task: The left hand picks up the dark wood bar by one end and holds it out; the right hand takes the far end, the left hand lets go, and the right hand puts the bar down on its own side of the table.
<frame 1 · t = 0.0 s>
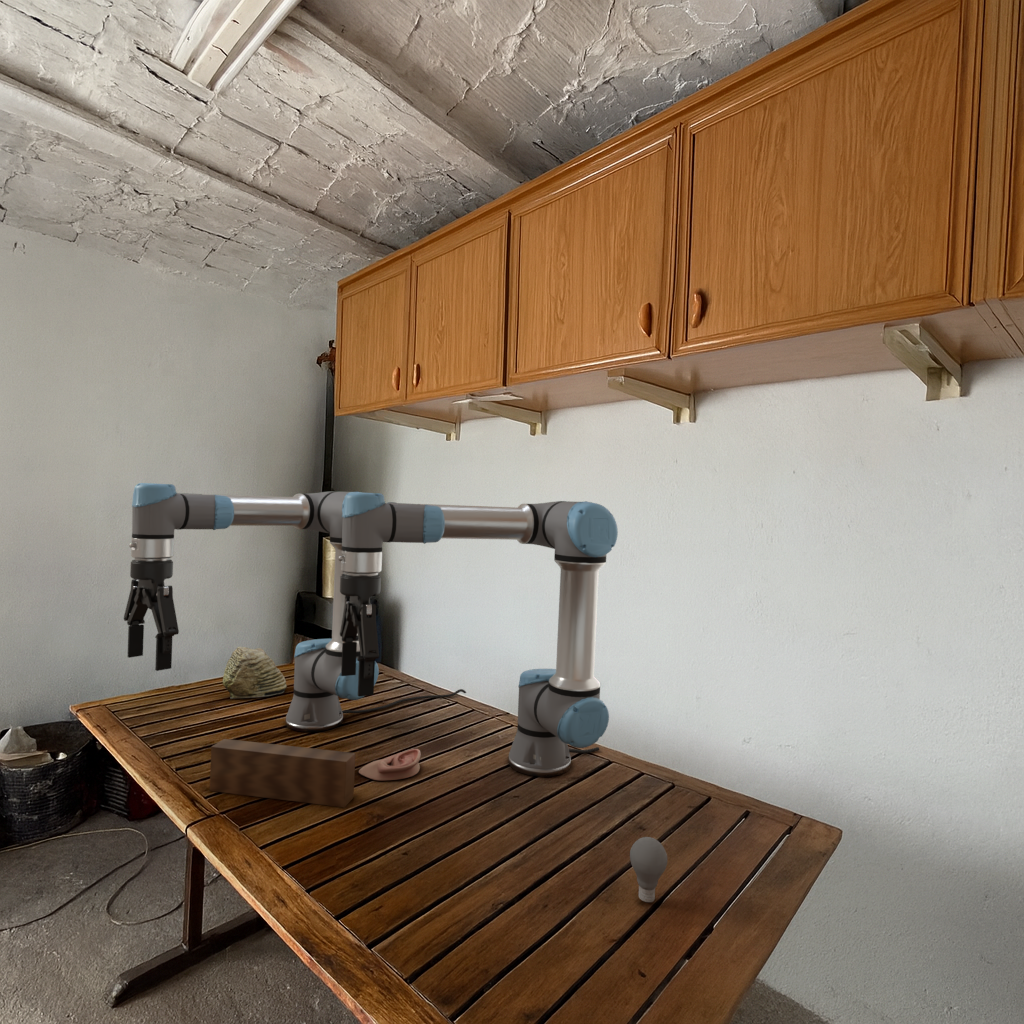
left hand: (148, 662, 129), 28 cm above the table, tool pointing down, fingers open, 13 cm apart
right hand: (356, 684, 120), 28 cm above the table, tool pointing down, fingers open, 13 cm apart
anatomical model: (390, 771, 147), on the table
light bulb: (646, 901, 103), on the table
bar: (281, 794, 134), on the table
fossil: (254, 694, 198), on the table
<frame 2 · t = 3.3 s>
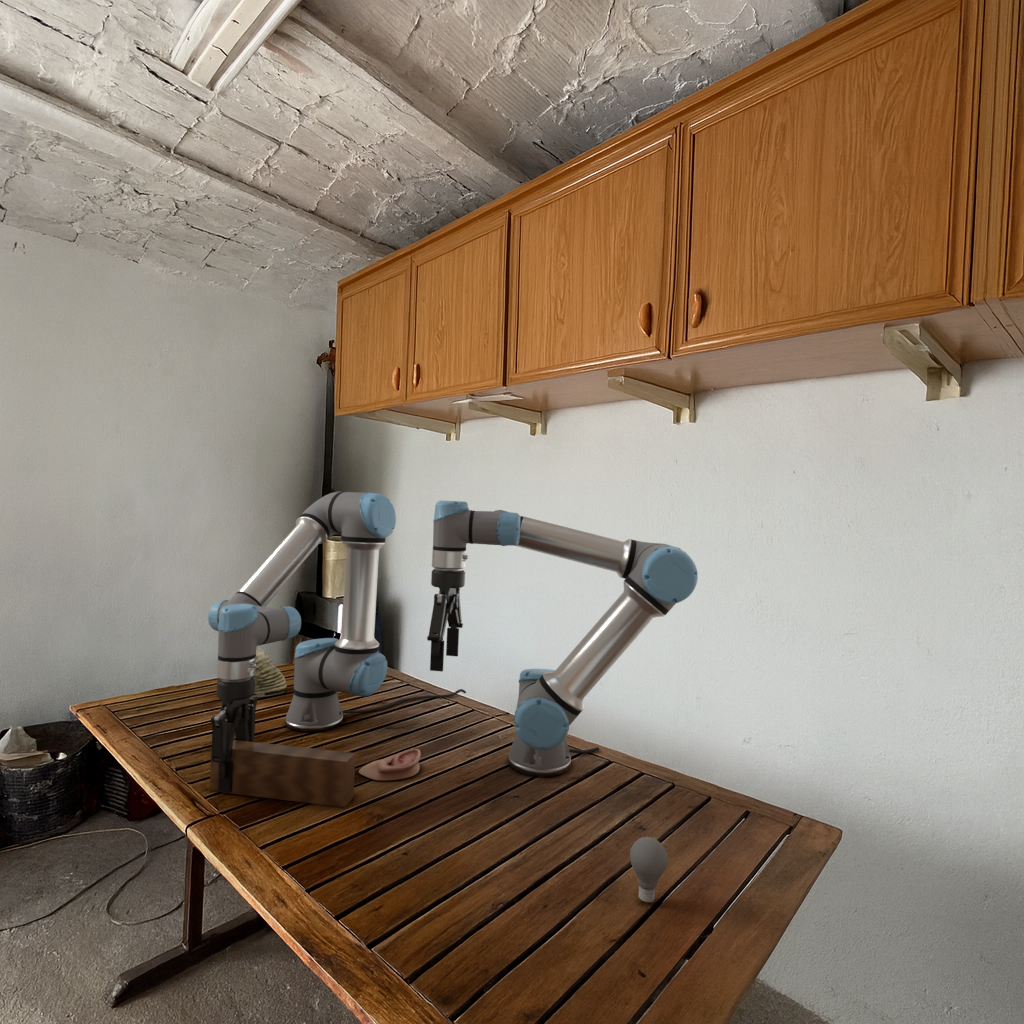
left hand: (232, 785, 136), 1 cm above the table, tool pointing down, fingers closed on bar, 5 cm apart
right hand: (444, 663, 143), 27 cm above the table, tool pointing down, fingers open, 13 cm apart
bar: (281, 794, 134), on the table, touching left hand
everything else where it was.
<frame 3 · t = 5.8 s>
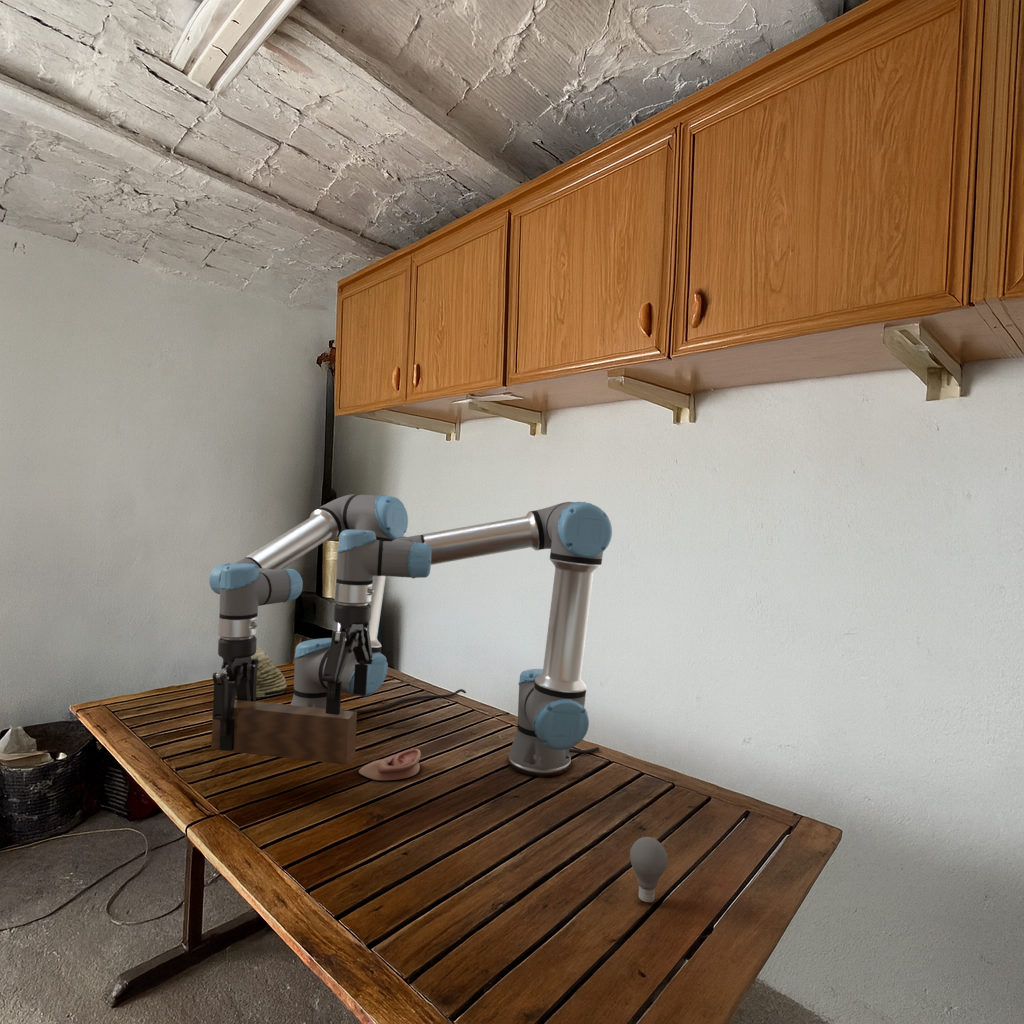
left hand: (234, 744, 136), 9 cm above the table, tool pointing down, fingers closed on bar, 5 cm apart
right hand: (346, 703, 133), 20 cm above the table, tool pointing down, fingers open, 13 cm apart
bar: (283, 752, 134), point 9 cm above the table, touching left hand
everything else where it was.
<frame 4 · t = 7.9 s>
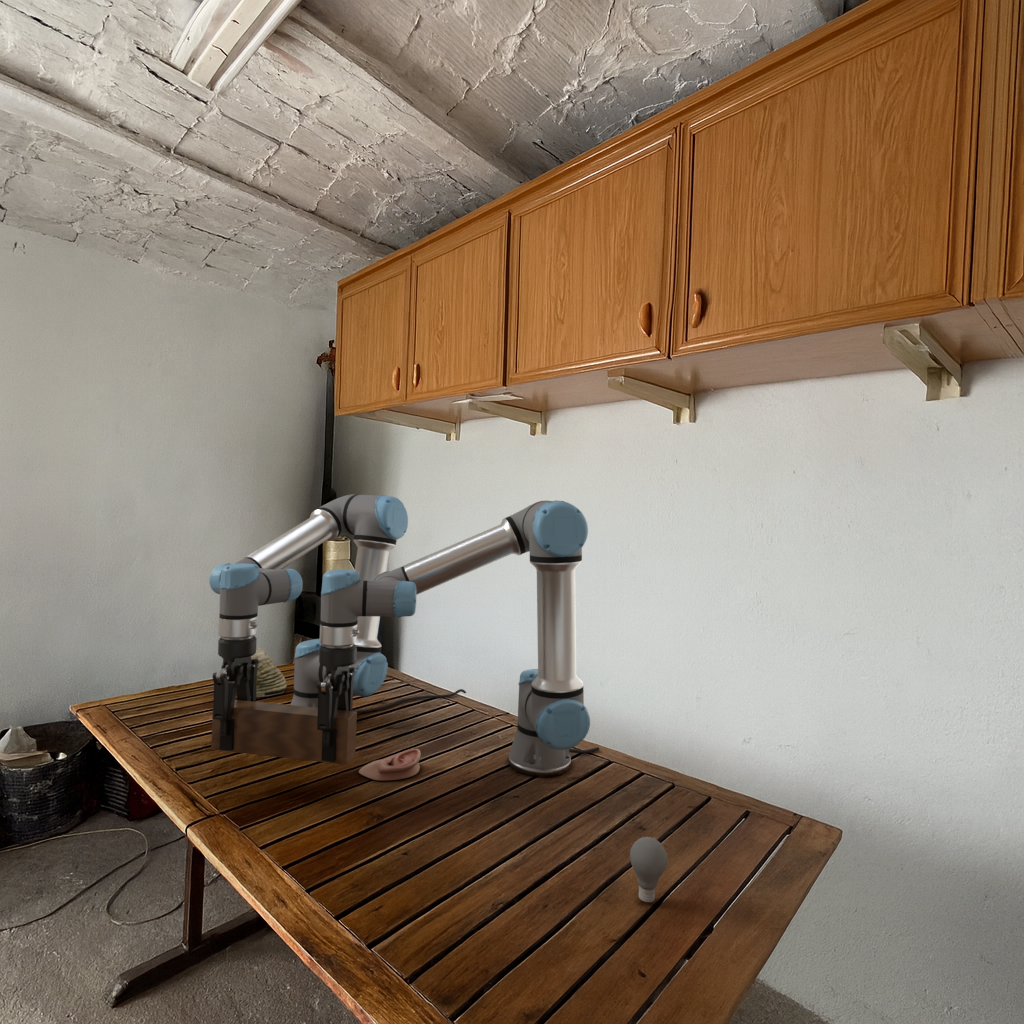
left hand: (234, 744, 136), 9 cm above the table, tool pointing down, fingers closed on bar, 5 cm apart
right hand: (334, 755, 132), 10 cm above the table, tool pointing down, fingers closed on bar, 5 cm apart
bar: (283, 752, 134), point 9 cm above the table, touching left hand, right hand
everything else where it was.
when the left hand's fingers open (9 cm above the table, at t = 8.4 s): bar stays where it is, held by the right hand.
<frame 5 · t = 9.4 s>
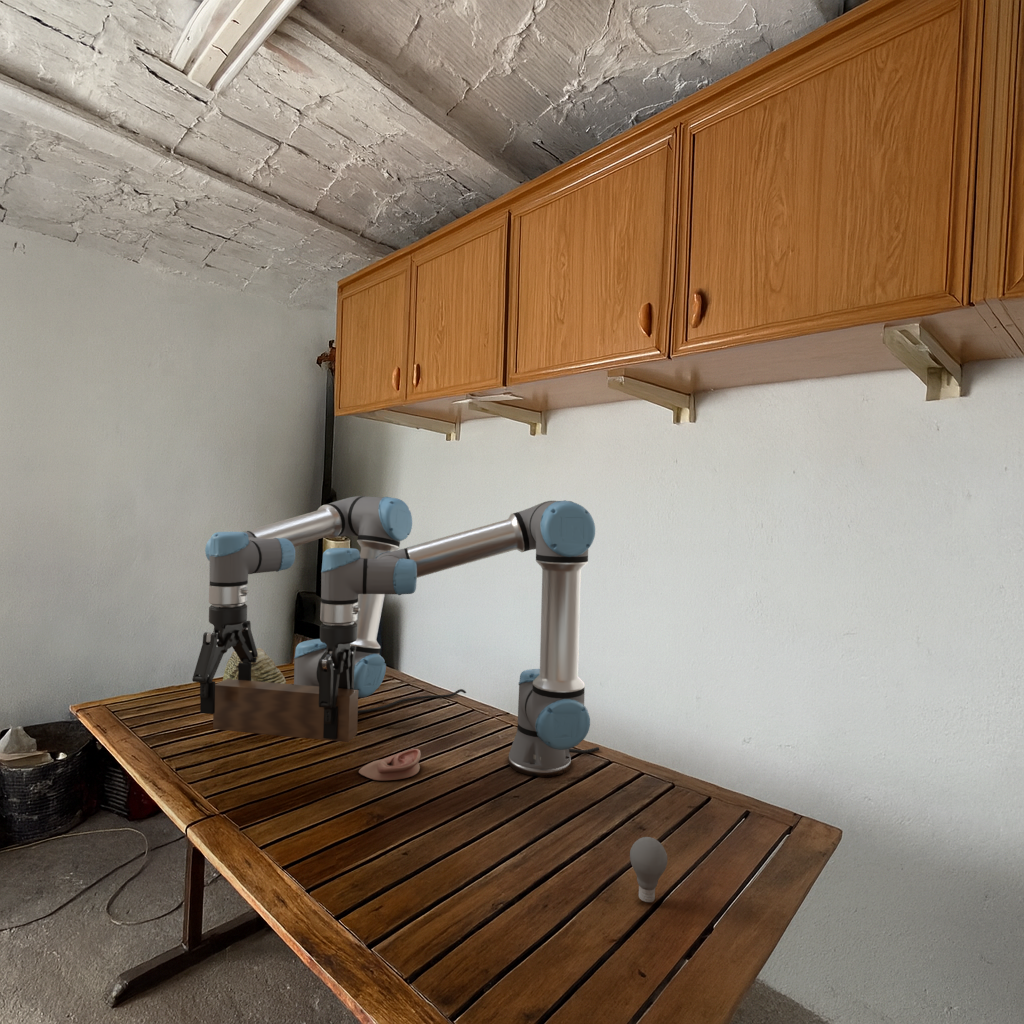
left hand: (226, 702, 136), 18 cm above the table, tool pointing down, fingers open, 13 cm apart
right hand: (335, 733, 132), 14 cm above the table, tool pointing down, fingers closed on bar, 5 cm apart
bar: (285, 731, 134), point 13 cm above the table, touching right hand
everything else where it was.
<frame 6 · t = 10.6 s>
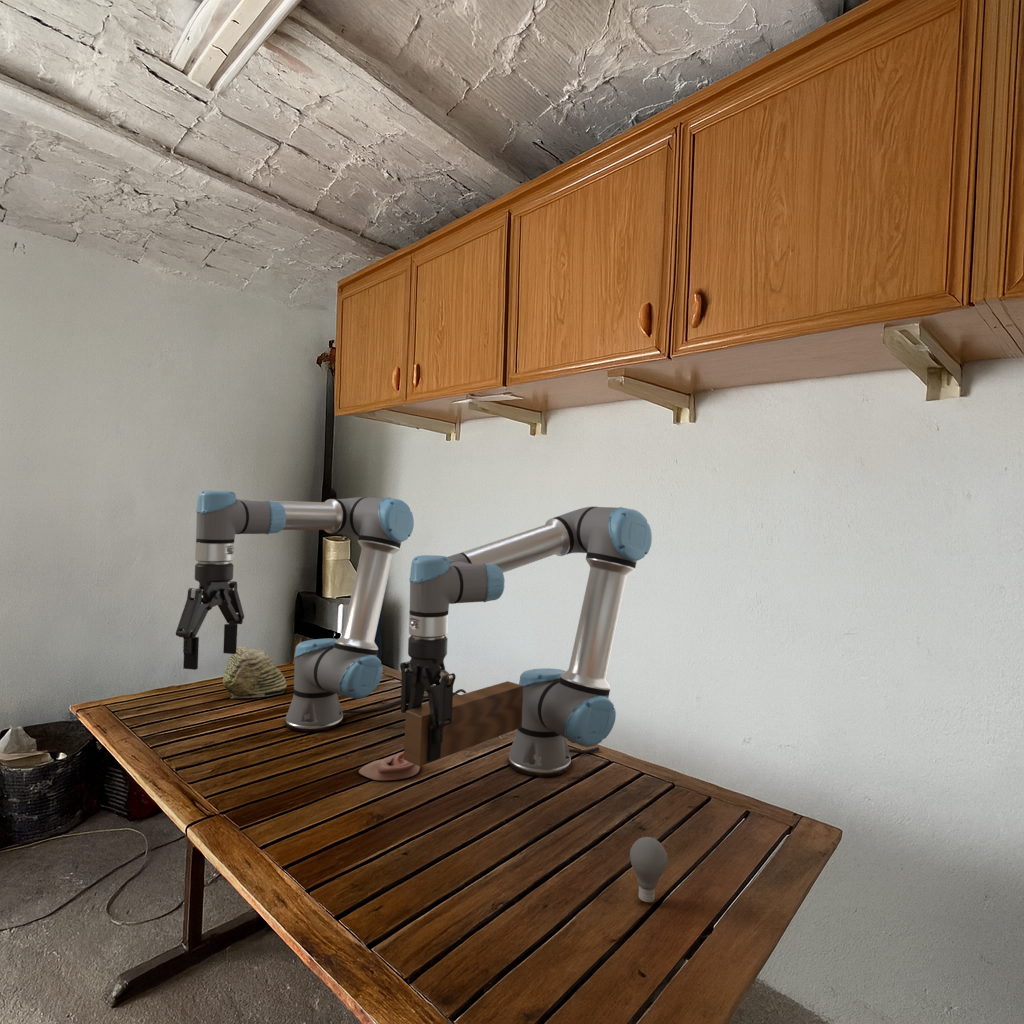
left hand: (211, 660, 136), 27 cm above the table, tool pointing down, fingers open, 13 cm apart
right hand: (424, 754, 123), 14 cm above the table, tool pointing down, fingers closed on bar, 5 cm apart
bar: (467, 742, 132), point 14 cm above the table, touching right hand
everything else where it was.
when the right hand's fingers open (2 cm above the table, at t = 13.3 s): bar drops 1 cm, on the table.
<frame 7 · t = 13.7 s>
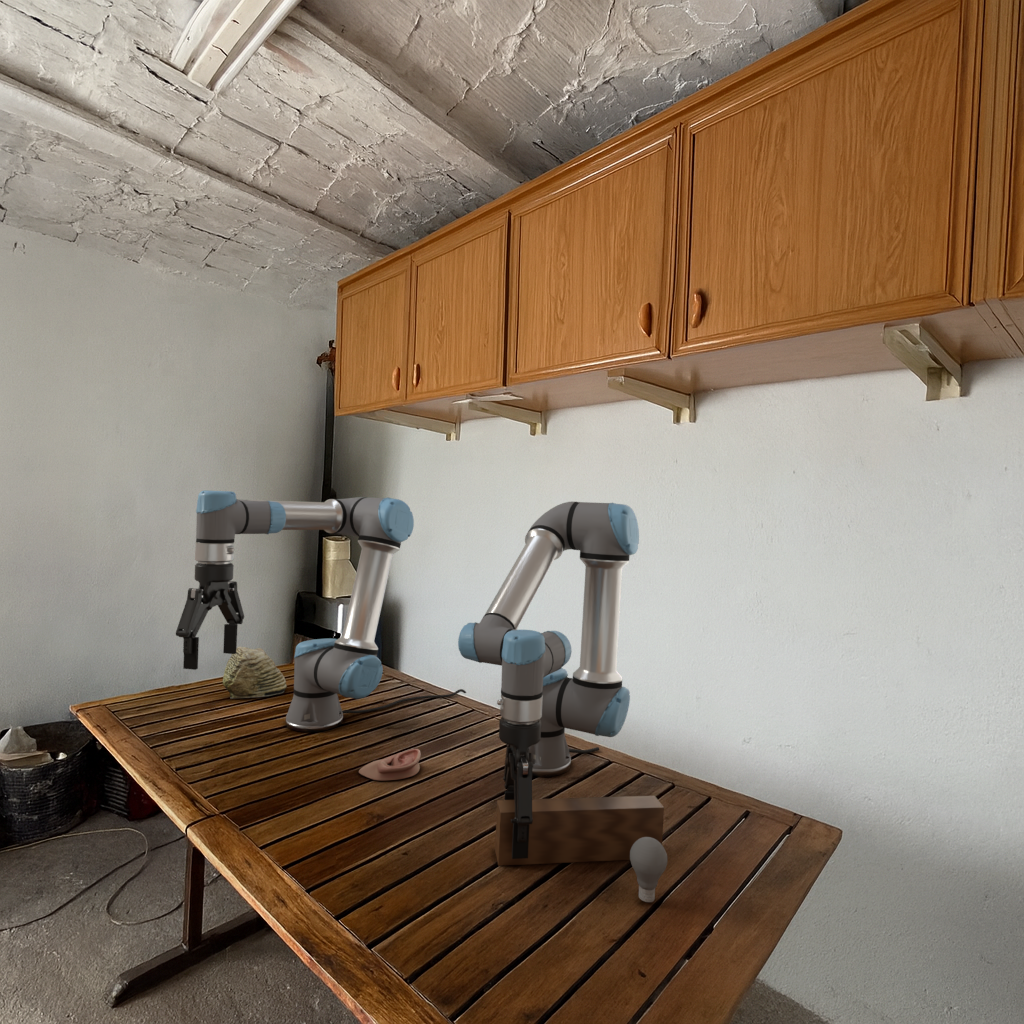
left hand: (211, 660, 136), 27 cm above the table, tool pointing down, fingers open, 13 cm apart
right hand: (515, 840, 114), 3 cm above the table, tool pointing down, fingers open, 10 cm apart
bar: (578, 854, 116), on the table
everything else where it was.
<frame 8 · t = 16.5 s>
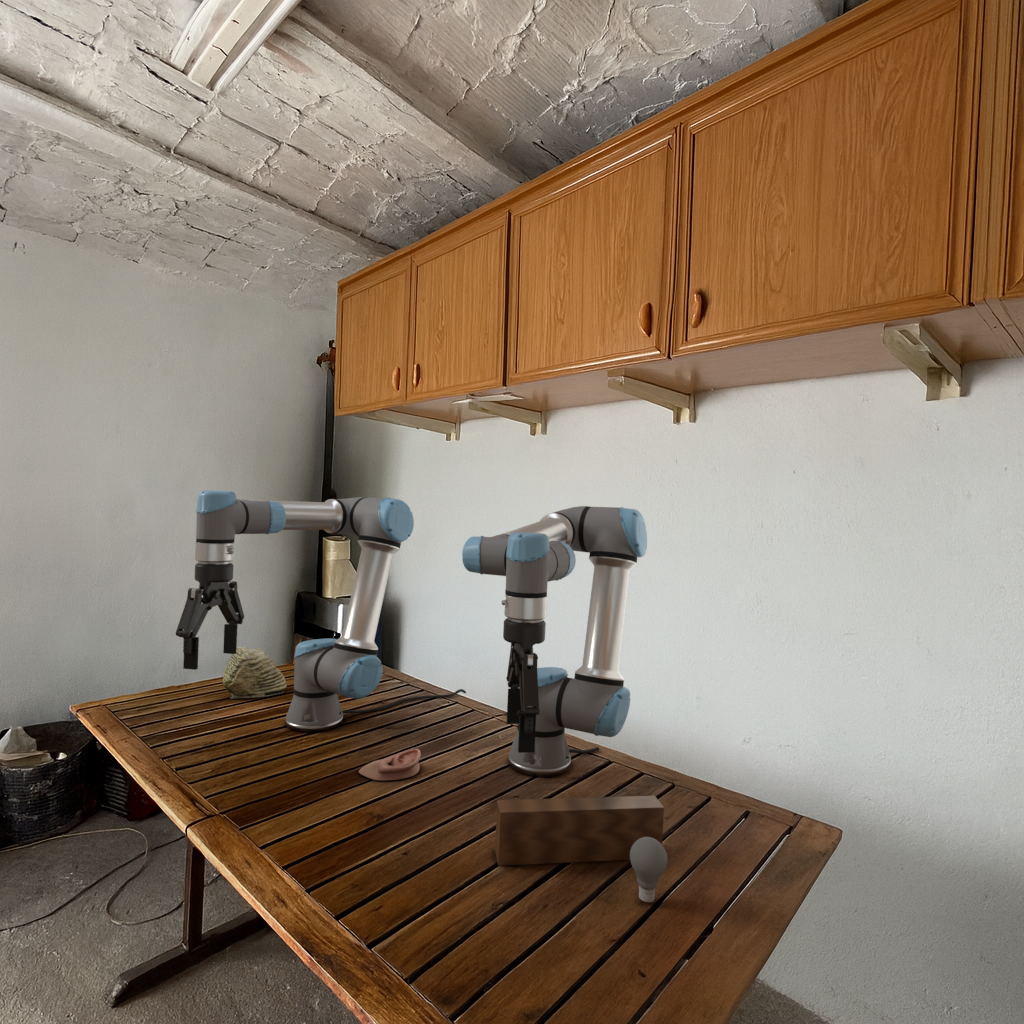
left hand: (211, 660, 136), 27 cm above the table, tool pointing down, fingers open, 13 cm apart
right hand: (519, 736, 114), 22 cm above the table, tool pointing down, fingers open, 13 cm apart
nothing on the table moved.
at the end: bar inside the target area (11.9 cm from its centre), on the table; the left hand is holding nothing; the right hand is holding nothing; bar at rest at the end (0.0 cm/s) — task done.
